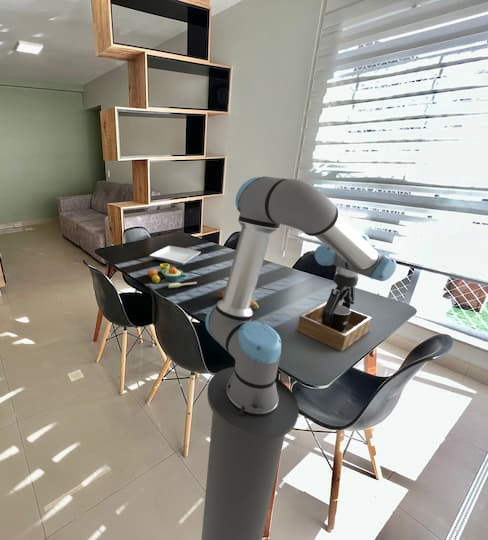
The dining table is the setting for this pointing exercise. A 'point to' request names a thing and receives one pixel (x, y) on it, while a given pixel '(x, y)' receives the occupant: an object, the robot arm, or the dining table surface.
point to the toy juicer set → (169, 275)
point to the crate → (315, 329)
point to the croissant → (252, 305)
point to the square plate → (175, 255)
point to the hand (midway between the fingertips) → (334, 322)
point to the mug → (339, 318)
